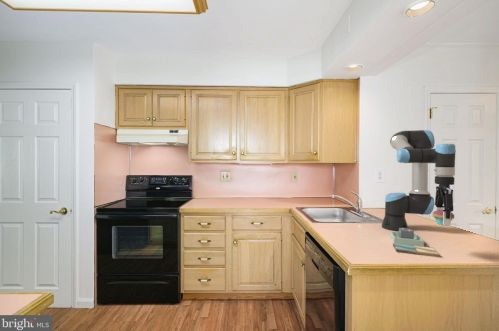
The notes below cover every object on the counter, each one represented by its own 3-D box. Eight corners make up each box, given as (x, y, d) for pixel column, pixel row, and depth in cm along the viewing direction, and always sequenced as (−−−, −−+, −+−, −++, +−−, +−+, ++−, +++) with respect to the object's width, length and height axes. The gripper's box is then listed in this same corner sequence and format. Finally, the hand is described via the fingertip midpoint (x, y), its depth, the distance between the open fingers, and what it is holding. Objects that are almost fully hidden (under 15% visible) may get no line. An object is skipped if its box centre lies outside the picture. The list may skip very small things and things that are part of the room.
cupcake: (444, 222, 128) (445, 198, 128) (459, 227, 120) (460, 201, 119) (427, 222, 128) (428, 198, 127) (441, 227, 119) (442, 201, 119)
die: (398, 238, 147) (398, 227, 146) (410, 239, 144) (411, 228, 144) (400, 241, 141) (401, 230, 141) (413, 242, 139) (413, 231, 139)
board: (392, 245, 136) (392, 242, 136) (432, 249, 130) (432, 247, 130) (396, 252, 126) (396, 249, 126) (440, 257, 120) (440, 254, 120)
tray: (390, 236, 152) (390, 231, 152) (416, 239, 147) (417, 233, 147) (394, 243, 139) (394, 237, 139) (423, 246, 134) (423, 240, 134)
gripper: (428, 174, 134) (426, 217, 135) (443, 177, 114) (442, 227, 115) (445, 174, 132) (443, 218, 133) (464, 177, 112) (462, 229, 113)
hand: (442, 222), depth 124 cm, fingers closed on cupcake, 8 cm apart
